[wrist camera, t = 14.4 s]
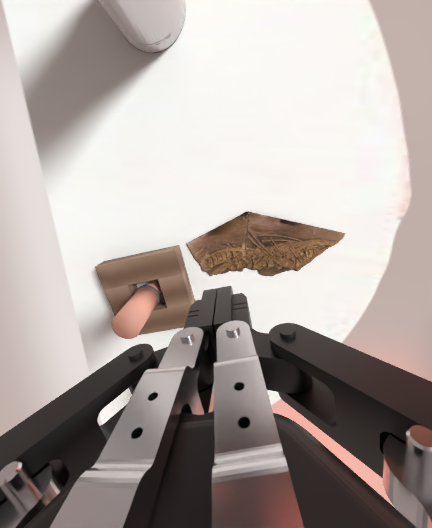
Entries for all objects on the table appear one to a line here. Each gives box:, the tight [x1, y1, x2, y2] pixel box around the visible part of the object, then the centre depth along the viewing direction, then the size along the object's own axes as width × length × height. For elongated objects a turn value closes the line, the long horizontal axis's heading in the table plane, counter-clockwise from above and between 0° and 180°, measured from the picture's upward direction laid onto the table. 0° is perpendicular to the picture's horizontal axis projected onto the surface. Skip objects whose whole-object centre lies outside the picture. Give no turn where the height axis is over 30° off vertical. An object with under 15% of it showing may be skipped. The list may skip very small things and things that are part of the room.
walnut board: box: [95, 245, 195, 335], centre depth 43 cm, size 14×14×3 cm
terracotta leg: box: [112, 281, 162, 339], centre depth 39 cm, size 4×4×12 cm
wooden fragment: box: [187, 212, 345, 276], centre depth 41 cm, size 26×11×1 cm, turn 92°
